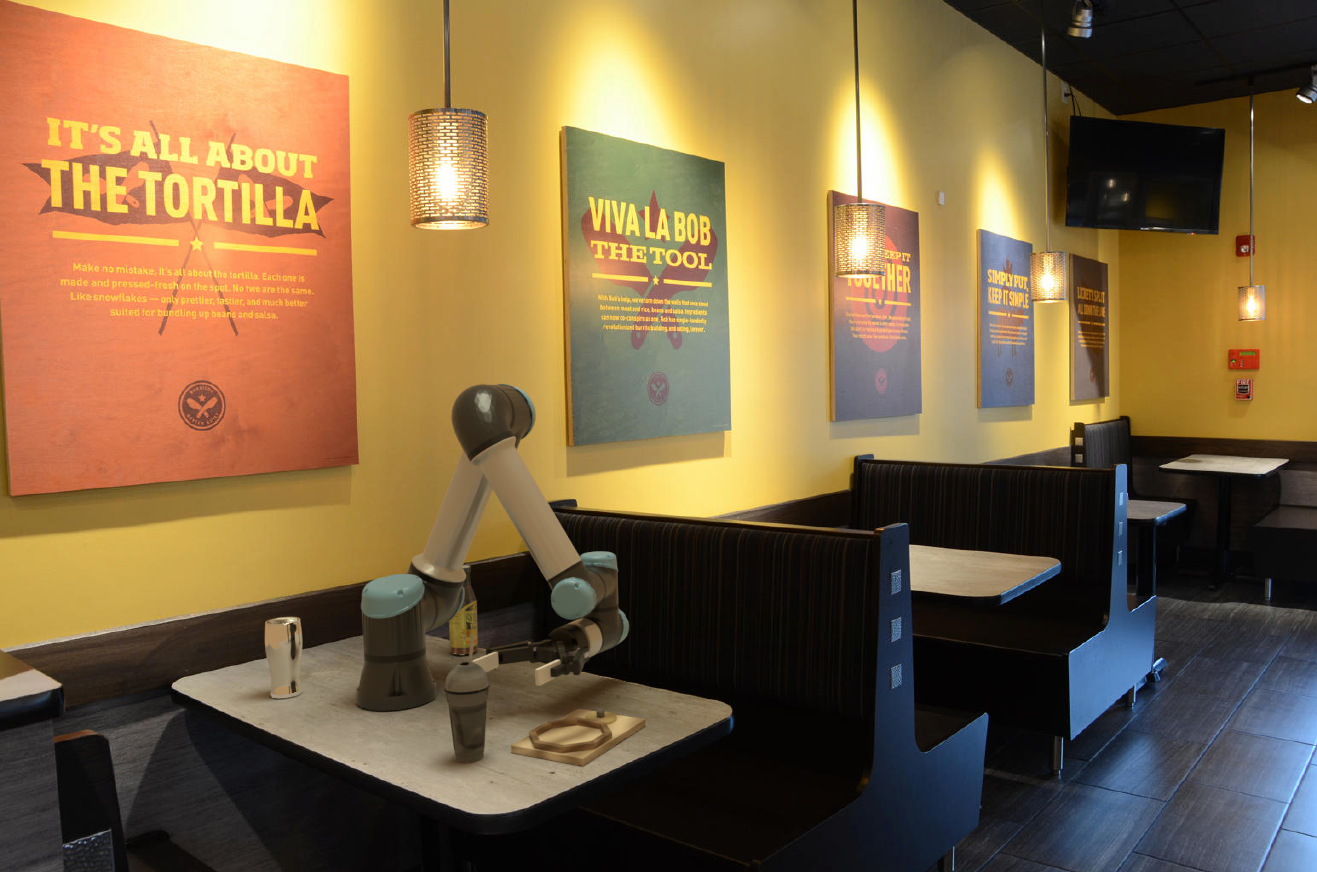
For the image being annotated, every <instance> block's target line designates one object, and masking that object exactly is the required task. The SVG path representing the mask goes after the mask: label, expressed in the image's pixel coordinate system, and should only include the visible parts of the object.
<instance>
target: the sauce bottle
mask: <svg viewBox="0 0 1317 872" xmlns="http://www.w3.org/2000/svg"><path fill="white" fill-rule="evenodd" d="M462 567H463V569H464V571H465V574H466V579H465V581H464V584H463V588H464V590H465V596H464V602H463V604H462V607H461V609H460V610H459V612H458V613H457V614H456V615H455V616H454V617H453V618H452V619H451V620H449V621H448V623H449V624H448V625H449V630H448V631H449V647H450V653H451V652H452V653H456V654H469V653H470V641H471V635H474V644H473V654H475V653H476V652H477V651H478V642H479V641H478V640H479V639H478V610H477V609H478V607H477V606H478V605H477V601H478V600H477V599H476V598H477V597H476V596H475V593H474V590H473V587H472V585H471V584H472V581H471V573H472V567H471V565H464V564H463V566H462ZM475 651H476V652H475ZM474 652H475V653H474ZM452 653H451V654H452Z"/></svg>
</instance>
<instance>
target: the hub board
mask: <svg viewBox="0 0 1317 872" xmlns="http://www.w3.org/2000/svg"><path fill="white" fill-rule="evenodd" d="M644 726H645V727H646V719H645V718H640V717H633V716H627V715H620V714H616V713H615V712H612V711H606V710H605V708H597V709H596V710H590V709H589V710H588V709H582V708H577V709H575V710H574V711H572V712H569V713H568V714H565V715H564V716H563V717H560V718H559V719H557V720H555V719H554V720H548V721H545V722H544V723H542V724H540V725H538V726H537V727H535V728H532V729H531V730H529V731H528V736H527V735H526V737H524V738H522V739H521V740H518V741H516V742H515V743H513V744H511V746H510V749H511V750H510V751H511V754H516V755H522V756H527V757H531V758H538V759H543V760H550V761H554V762H558V763H563V764H569V765H575V766H579V765H581V766H580V767H584V766H586V765H588V764H589V763H590V762H592V761H594V760H596V759H597V758H598V757H600V756H601V755H603V754H605V753H606V752H607V750H608V749H609V750H610V748H611V749H613V748H614V747H615V746H617V745H618V744H620V743H621V742H623V741H625V740H626V739H628V738H629V737H631V736H633V735H634V734H635V733H637V732H639V731H640V730H641V728H642V729H643V728H644ZM636 731H637V732H636ZM633 733H634V734H633ZM627 737H628V738H627ZM625 738H626V739H625ZM624 739H625V740H624ZM619 742H620V743H619ZM616 744H617V745H616ZM613 746H614V747H613ZM609 750H608V751H609ZM599 755H600V756H599Z"/></svg>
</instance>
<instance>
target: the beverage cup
mask: <svg viewBox="0 0 1317 872" xmlns="http://www.w3.org/2000/svg"><path fill="white" fill-rule="evenodd" d="M473 644H474V635H471V641H470V653H469V655H468V656H469V657H468V661H462V662H460V663H458V664H456V665H455V666H453V668H451V670H449V672H448V674H447V676H446V678H445V683H444V685H445V686H444V687H443V689H444V690H443V691H444V692H445V698H446V702H447V704H448V711H449V719H450V729H451V735H452V744H453V745H452V746H453V751H454V755H455V761H457V762H458V763H464V764H465V763H466V764H467V763H475V762H479V761H481V760H482V759H484V756H485V755H484V753H485V747H486V745H485V744H486V724H487V708H488V707H487V706H488V705H487V704H488V703H487V702H488V698H489V693H490V689H489V688H490V682H489V679H488V675H487V672H485V671H484V669H483V668H482V667H481V666H479V665H478V664H476V663H473V662H472V661H473V654H474V653H473Z"/></svg>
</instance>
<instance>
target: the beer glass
mask: <svg viewBox="0 0 1317 872" xmlns="http://www.w3.org/2000/svg"><path fill="white" fill-rule="evenodd" d="M264 623H265V625H264V646H265V647H264V649H265V650H264V651H265V655H266V660H267V663H268V664H267V665H268V669H269V673H270V679H271V680H270V681H271V682H270V689H269V693H270V692H271V693H272V694H275V695H286V694H291V693H294V692H297V691H300V690H301V689H302V690H303V688H302V683H301V679H300V669H301V668H300V667H301V662H302V655H303V654H302V653H303V631H302V626H301V625H302V623H301V618H300V617H297V616H284V617H283V616H282V617H275V618H272V619H268V620H266V621H265V622H264Z"/></svg>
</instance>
